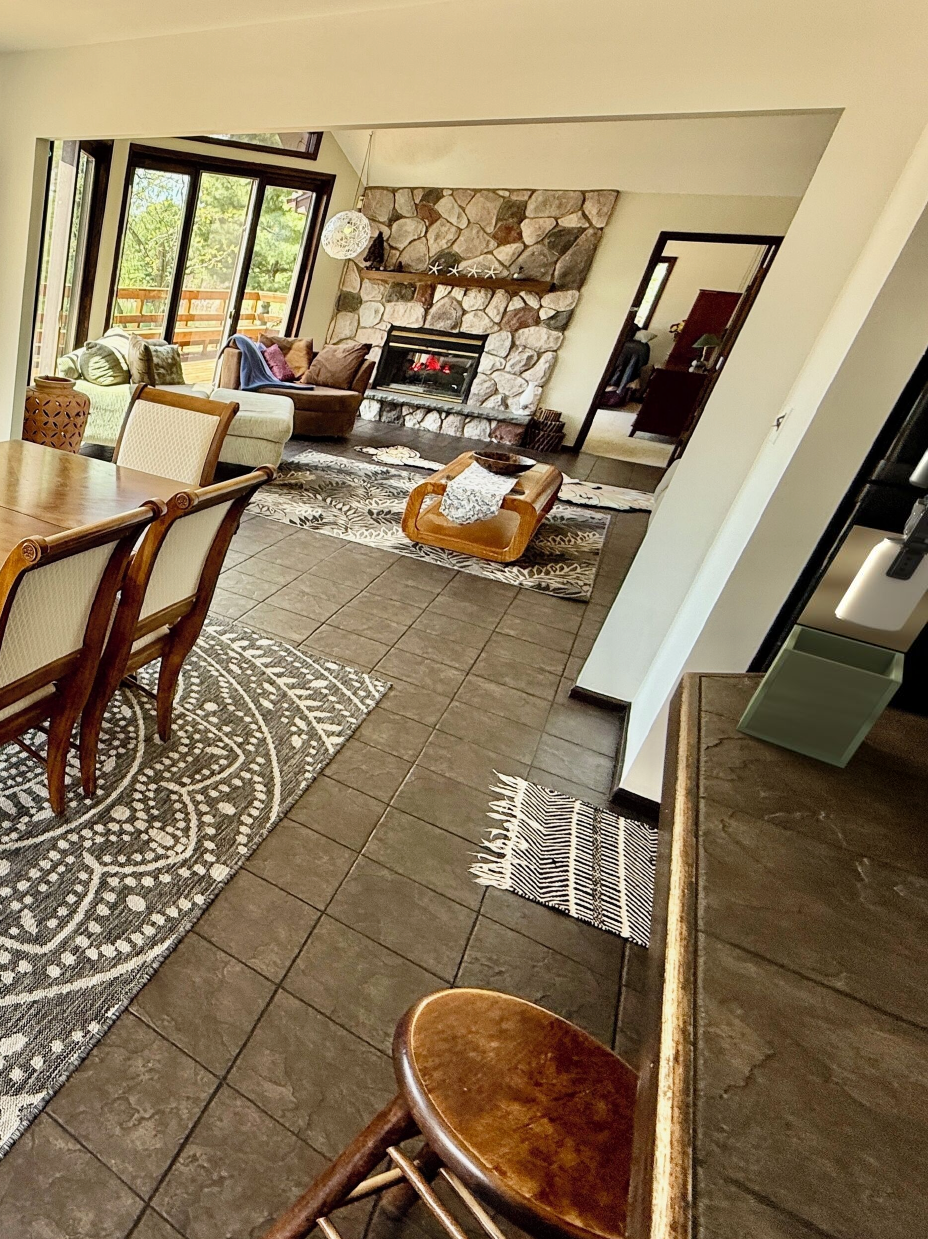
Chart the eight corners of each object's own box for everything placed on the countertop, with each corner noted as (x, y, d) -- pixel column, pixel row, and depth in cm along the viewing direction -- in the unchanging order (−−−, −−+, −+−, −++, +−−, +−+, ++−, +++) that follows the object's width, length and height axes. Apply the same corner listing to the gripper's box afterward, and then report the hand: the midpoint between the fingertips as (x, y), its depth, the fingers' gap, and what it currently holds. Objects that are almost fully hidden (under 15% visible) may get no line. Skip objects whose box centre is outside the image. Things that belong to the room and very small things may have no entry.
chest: (843, 768, 106) (902, 682, 100) (735, 729, 114) (784, 648, 108) (850, 734, 115) (904, 654, 110) (750, 700, 123) (795, 624, 118)
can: (907, 637, 101) (961, 555, 96) (842, 623, 104) (891, 543, 100) (888, 621, 106) (938, 543, 102) (826, 609, 110) (872, 532, 105)
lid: (975, 550, 102) (975, 549, 102) (854, 526, 110) (854, 525, 110) (906, 652, 109) (906, 650, 110) (796, 622, 117) (797, 621, 118)
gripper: (1022, 466, 89) (938, 593, 95) (1014, 456, 97) (938, 573, 104) (927, 453, 94) (854, 574, 101) (928, 444, 102) (860, 556, 109)
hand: (897, 573), depth 102 cm, fingers closed on can, 6 cm apart
